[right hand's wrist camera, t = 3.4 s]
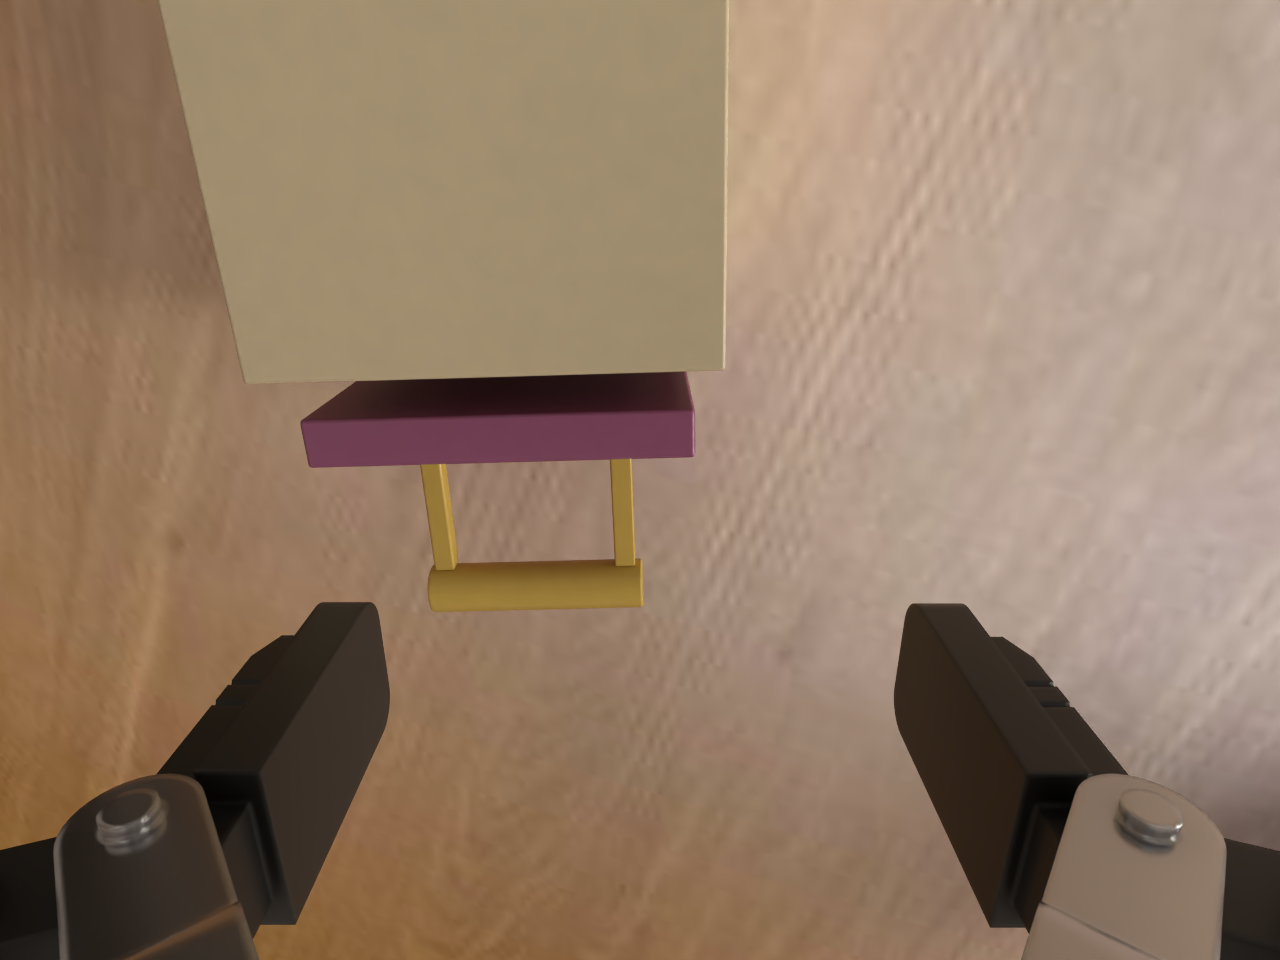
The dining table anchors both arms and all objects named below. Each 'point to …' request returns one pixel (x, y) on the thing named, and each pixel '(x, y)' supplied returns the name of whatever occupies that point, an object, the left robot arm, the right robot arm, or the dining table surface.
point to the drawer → (512, 432)
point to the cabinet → (461, 183)
